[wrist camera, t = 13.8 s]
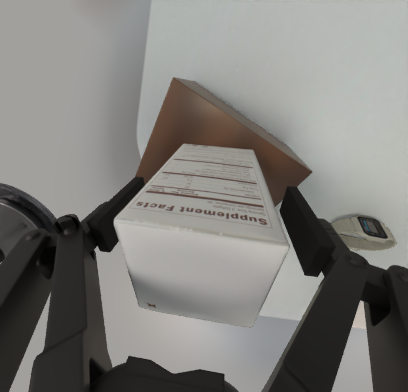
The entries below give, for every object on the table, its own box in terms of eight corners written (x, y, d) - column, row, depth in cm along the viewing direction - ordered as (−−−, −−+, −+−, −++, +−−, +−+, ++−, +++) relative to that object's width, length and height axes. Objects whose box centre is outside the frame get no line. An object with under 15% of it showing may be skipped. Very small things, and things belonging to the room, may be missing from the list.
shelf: (161, 154, 29) (133, 180, 21) (194, 81, 23) (172, 76, 15) (238, 199, 32) (240, 239, 23) (286, 144, 26) (313, 172, 17)
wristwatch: (391, 218, 30) (417, 240, 26) (369, 243, 33) (389, 266, 29) (336, 211, 30) (353, 230, 26) (320, 236, 34) (333, 257, 30)
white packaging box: (242, 207, 21) (253, 332, 10) (182, 200, 21) (133, 310, 11) (256, 147, 17) (298, 249, 6) (182, 140, 17) (104, 220, 7)
